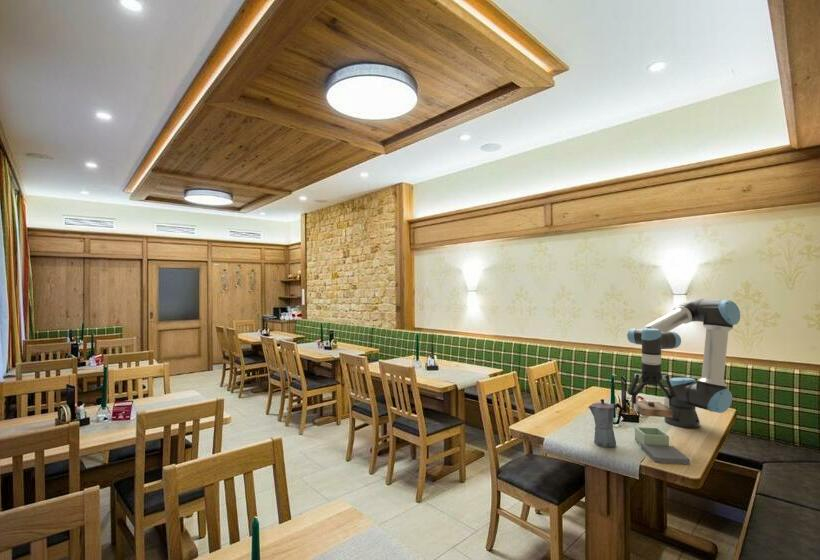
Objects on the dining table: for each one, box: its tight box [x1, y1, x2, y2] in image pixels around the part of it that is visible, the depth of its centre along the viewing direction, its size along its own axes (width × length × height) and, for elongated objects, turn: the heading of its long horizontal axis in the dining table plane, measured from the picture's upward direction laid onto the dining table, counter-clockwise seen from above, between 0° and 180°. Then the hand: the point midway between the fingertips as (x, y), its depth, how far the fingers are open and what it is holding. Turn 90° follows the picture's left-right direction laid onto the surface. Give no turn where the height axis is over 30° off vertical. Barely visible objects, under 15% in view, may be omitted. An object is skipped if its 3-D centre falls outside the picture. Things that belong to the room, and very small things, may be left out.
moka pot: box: [587, 398, 624, 448], centre depth 180 cm, size 10×15×20 cm, turn 95°
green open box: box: [634, 426, 670, 446], centre depth 179 cm, size 10×10×6 cm
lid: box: [631, 400, 673, 418], centre depth 179 cm, size 12×12×4 cm
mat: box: [640, 444, 691, 465], centre depth 167 cm, size 13×13×2 cm
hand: (651, 411), depth 179 cm, fingers closed on lid, 12 cm apart
